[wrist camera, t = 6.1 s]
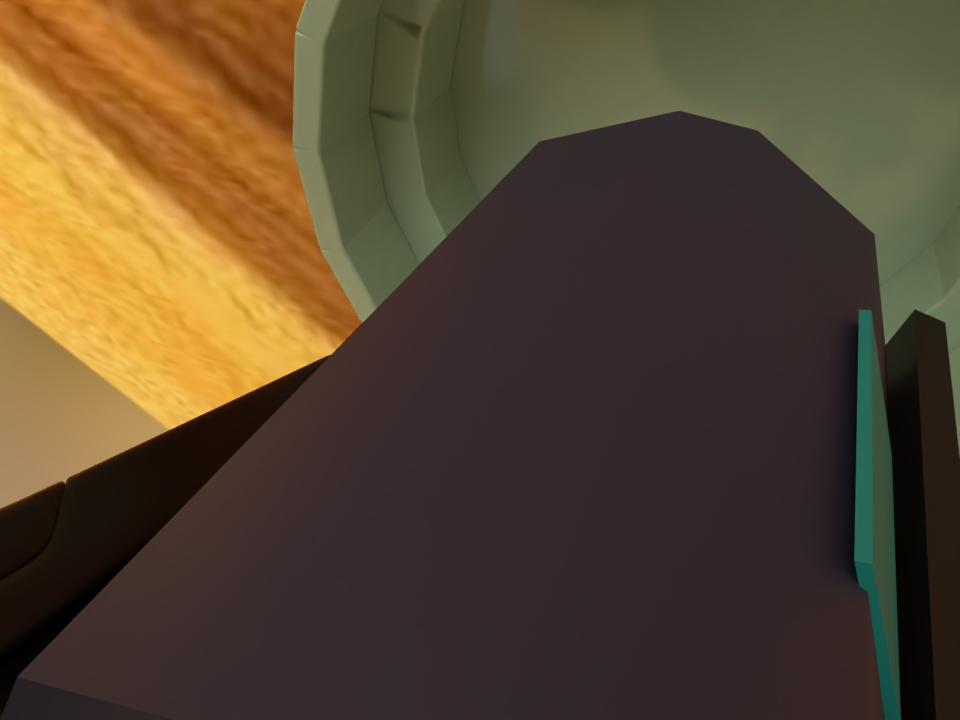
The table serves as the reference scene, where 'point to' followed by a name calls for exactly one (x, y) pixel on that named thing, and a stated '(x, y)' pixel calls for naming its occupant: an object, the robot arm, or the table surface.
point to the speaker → (574, 478)
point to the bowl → (627, 116)
